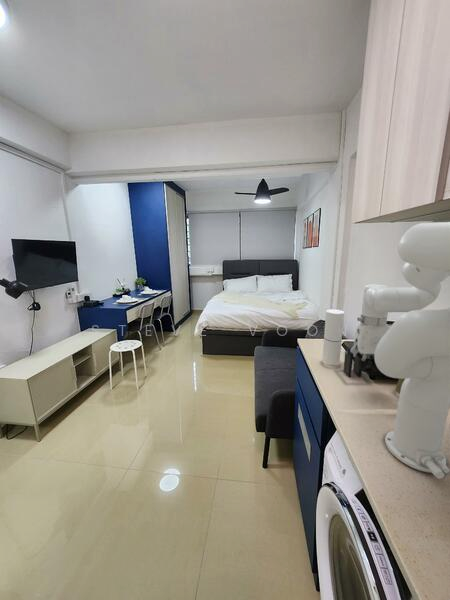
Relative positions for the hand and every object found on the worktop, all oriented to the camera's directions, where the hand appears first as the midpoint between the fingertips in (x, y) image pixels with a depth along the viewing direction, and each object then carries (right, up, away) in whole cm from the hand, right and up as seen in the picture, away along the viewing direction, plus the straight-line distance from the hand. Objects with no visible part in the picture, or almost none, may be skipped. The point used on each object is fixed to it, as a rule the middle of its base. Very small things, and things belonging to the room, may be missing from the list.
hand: (368, 369), depth 86 cm
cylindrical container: (-3, -5, +23) cm, 24 cm away
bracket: (+1, -7, +12) cm, 14 cm away
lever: (0, +2, +5) cm, 5 cm away
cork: (+13, -10, 0) cm, 16 cm away
